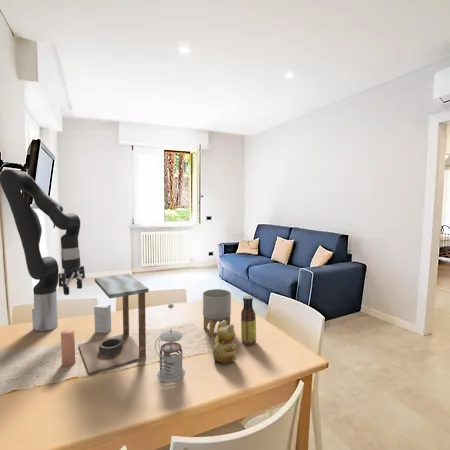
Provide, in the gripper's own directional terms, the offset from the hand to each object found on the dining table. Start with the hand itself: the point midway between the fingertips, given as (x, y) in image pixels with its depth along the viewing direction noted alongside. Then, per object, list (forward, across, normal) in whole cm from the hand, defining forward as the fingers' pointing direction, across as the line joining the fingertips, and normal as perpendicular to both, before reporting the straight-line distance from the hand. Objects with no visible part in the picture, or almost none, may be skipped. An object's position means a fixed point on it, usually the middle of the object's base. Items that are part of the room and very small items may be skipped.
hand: (73, 291), depth 138 cm
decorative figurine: (+19, +13, +74) cm, 77 cm away
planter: (+20, -12, +65) cm, 69 cm away
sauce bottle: (+20, -4, +81) cm, 83 cm away
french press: (+18, +25, +57) cm, 64 cm away
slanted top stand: (+18, +16, +29) cm, 37 cm away
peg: (+17, +27, +18) cm, 37 cm away
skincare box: (+18, 0, +14) cm, 23 cm away
